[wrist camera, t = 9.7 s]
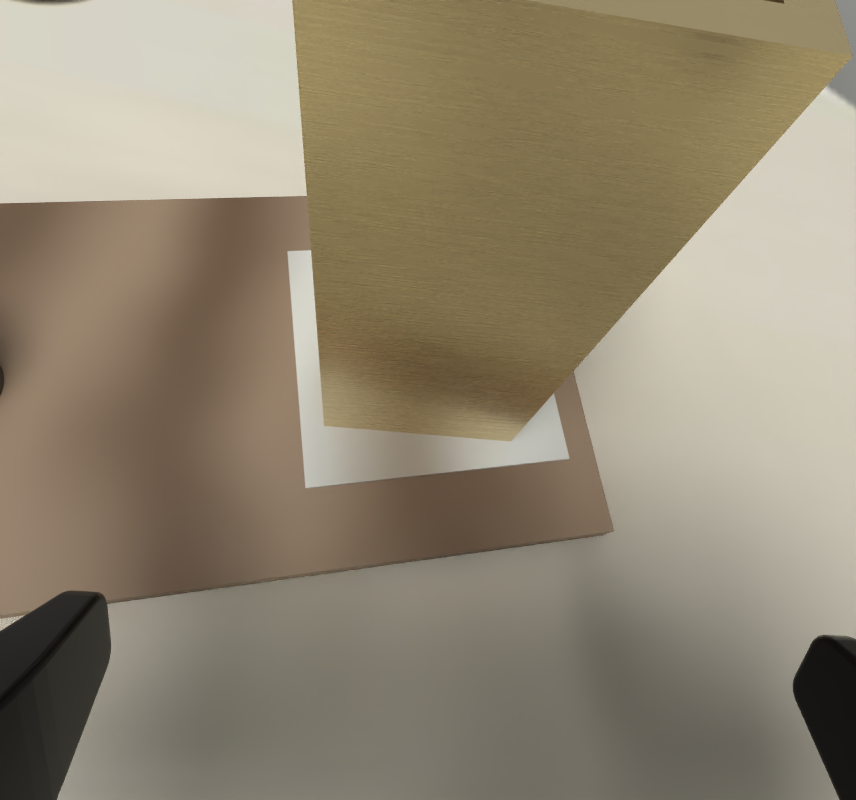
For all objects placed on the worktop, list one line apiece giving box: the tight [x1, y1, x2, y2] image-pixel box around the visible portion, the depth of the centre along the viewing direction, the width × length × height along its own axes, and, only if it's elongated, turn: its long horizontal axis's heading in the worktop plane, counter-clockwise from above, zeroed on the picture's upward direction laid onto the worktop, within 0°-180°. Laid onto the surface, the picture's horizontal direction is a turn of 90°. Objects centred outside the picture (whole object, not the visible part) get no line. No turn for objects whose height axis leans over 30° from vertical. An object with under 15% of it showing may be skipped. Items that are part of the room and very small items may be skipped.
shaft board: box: [0, 196, 614, 618], centre depth 16 cm, size 22×12×4 cm, turn 98°
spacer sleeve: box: [292, 0, 853, 441], centre depth 12 cm, size 5×5×12 cm
